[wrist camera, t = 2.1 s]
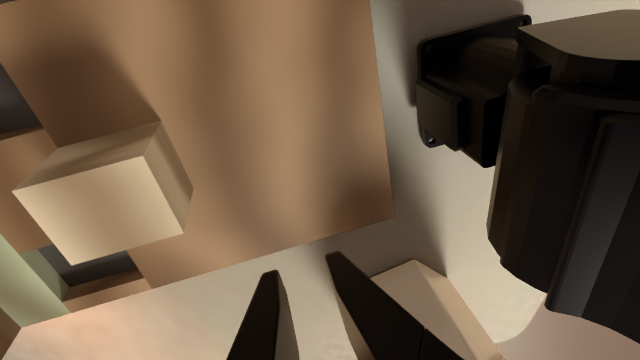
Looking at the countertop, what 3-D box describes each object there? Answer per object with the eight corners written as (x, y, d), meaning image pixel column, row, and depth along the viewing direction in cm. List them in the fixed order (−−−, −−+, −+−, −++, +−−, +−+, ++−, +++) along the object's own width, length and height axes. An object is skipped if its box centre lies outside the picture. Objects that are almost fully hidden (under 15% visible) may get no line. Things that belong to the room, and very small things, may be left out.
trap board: (350, -76, 16) (380, -91, 13) (386, 204, 24) (410, 241, 21) (-237, 62, 14) (-385, 88, 11) (17, 312, 23) (-22, 372, 19)
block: (161, 120, 17) (142, 155, 14) (193, 188, 19) (183, 233, 16) (57, 148, 17) (11, 191, 13) (101, 213, 19) (71, 265, 15)
